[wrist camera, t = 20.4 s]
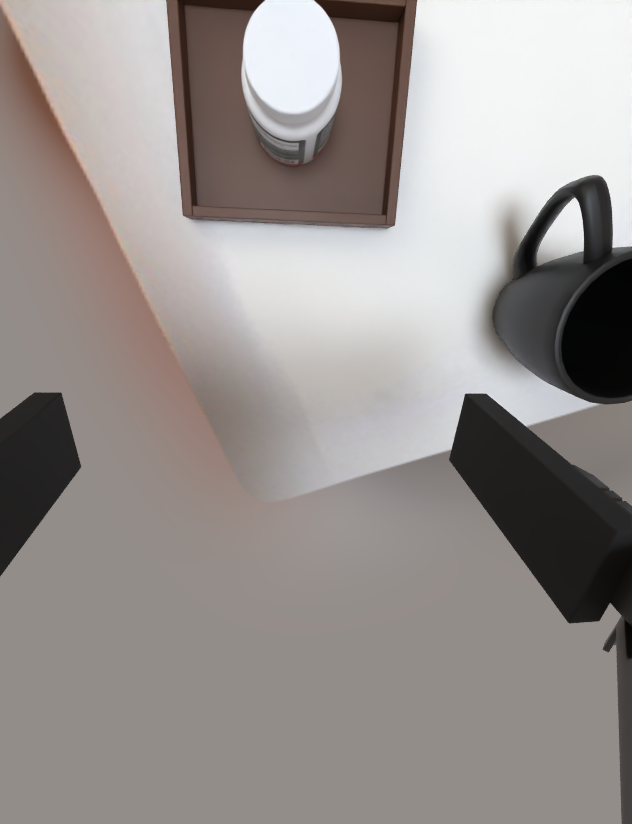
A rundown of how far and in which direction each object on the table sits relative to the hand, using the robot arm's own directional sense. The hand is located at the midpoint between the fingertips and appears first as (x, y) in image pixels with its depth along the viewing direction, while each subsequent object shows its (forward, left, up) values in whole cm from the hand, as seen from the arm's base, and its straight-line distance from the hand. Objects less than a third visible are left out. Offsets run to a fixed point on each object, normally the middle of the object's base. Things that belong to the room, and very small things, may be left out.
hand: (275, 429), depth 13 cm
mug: (+17, +4, -17) cm, 25 cm away
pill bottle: (0, +13, -17) cm, 21 cm away
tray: (0, +13, -17) cm, 21 cm away
